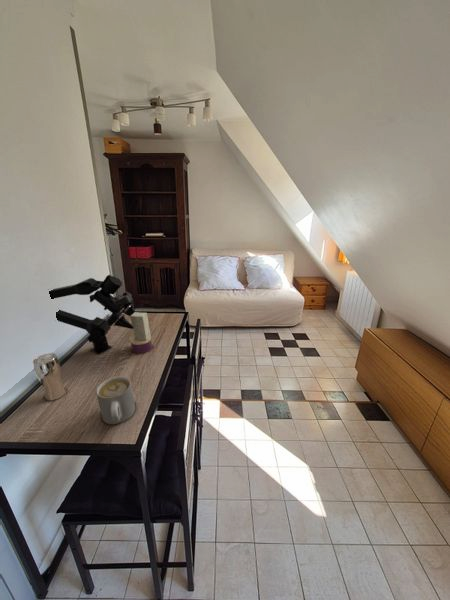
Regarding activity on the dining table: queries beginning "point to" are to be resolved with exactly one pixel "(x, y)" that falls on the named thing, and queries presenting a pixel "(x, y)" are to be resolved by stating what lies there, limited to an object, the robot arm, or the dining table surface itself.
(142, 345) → the jar
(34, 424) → the dining table surface
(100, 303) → the robot arm
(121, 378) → the coffee mug
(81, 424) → the dining table surface
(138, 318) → the cosmetic box
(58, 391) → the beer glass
